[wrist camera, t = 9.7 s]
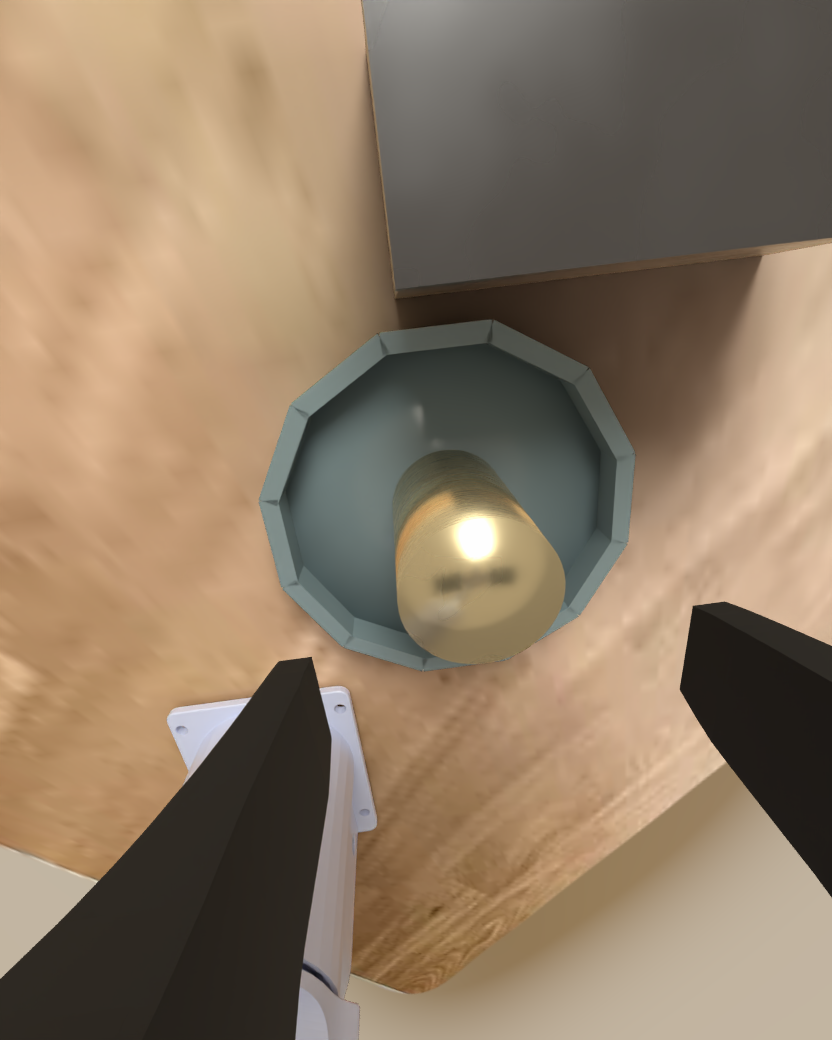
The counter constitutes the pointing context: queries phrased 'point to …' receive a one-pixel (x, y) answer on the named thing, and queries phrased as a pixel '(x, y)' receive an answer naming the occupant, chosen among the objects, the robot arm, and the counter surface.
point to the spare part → (470, 562)
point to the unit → (596, 135)
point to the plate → (430, 428)
